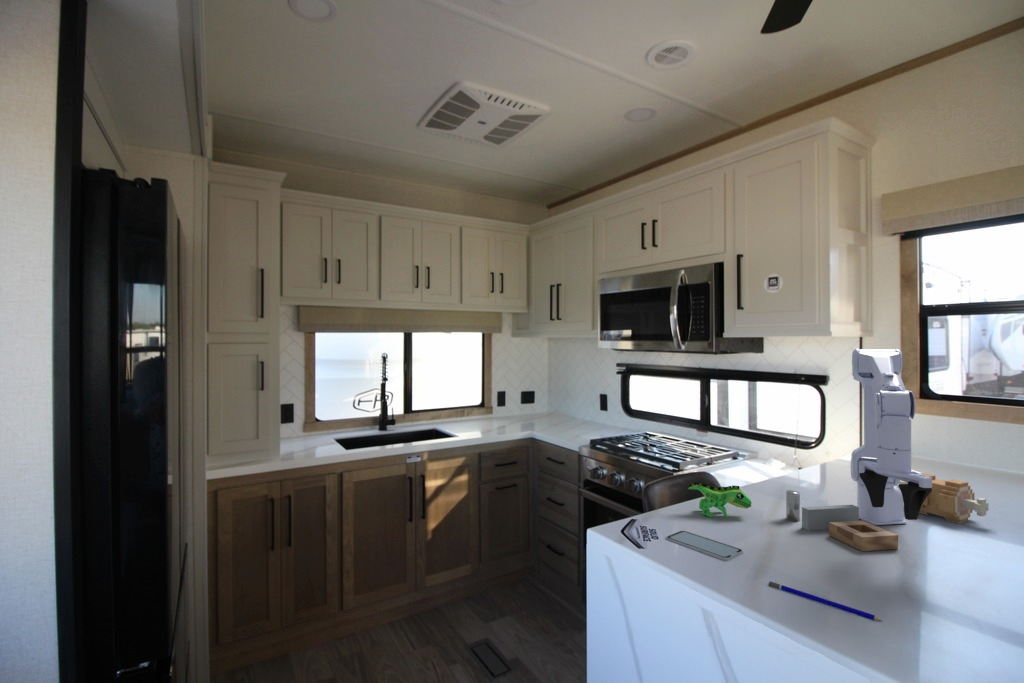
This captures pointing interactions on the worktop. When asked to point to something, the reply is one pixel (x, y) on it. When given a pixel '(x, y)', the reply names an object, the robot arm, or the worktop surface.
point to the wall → (827, 516)
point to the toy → (720, 497)
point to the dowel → (792, 505)
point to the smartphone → (705, 545)
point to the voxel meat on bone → (951, 500)
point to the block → (863, 535)
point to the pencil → (825, 601)
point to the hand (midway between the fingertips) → (893, 512)
